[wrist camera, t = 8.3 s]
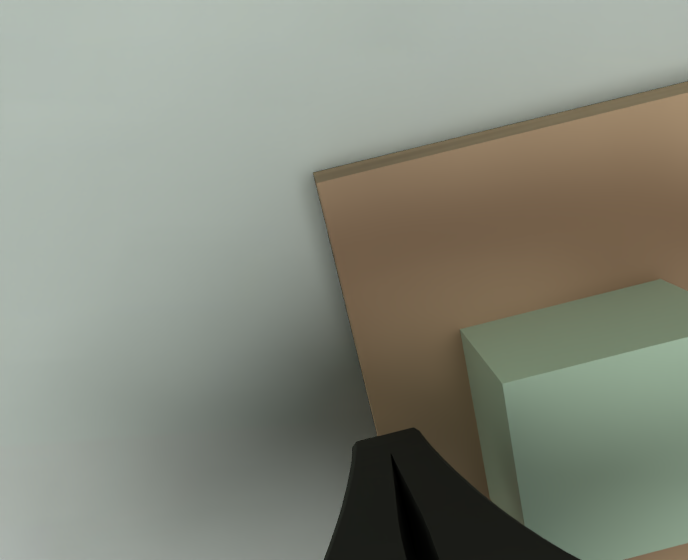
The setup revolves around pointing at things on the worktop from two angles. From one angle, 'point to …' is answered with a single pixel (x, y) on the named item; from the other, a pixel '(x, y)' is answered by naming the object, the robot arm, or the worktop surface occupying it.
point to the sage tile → (588, 419)
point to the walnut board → (500, 247)
